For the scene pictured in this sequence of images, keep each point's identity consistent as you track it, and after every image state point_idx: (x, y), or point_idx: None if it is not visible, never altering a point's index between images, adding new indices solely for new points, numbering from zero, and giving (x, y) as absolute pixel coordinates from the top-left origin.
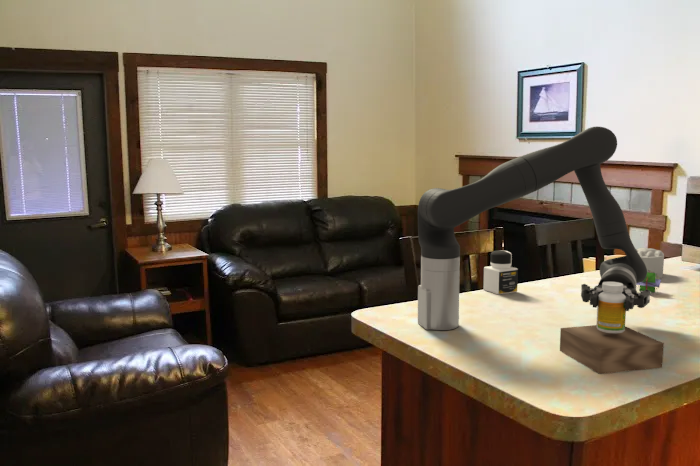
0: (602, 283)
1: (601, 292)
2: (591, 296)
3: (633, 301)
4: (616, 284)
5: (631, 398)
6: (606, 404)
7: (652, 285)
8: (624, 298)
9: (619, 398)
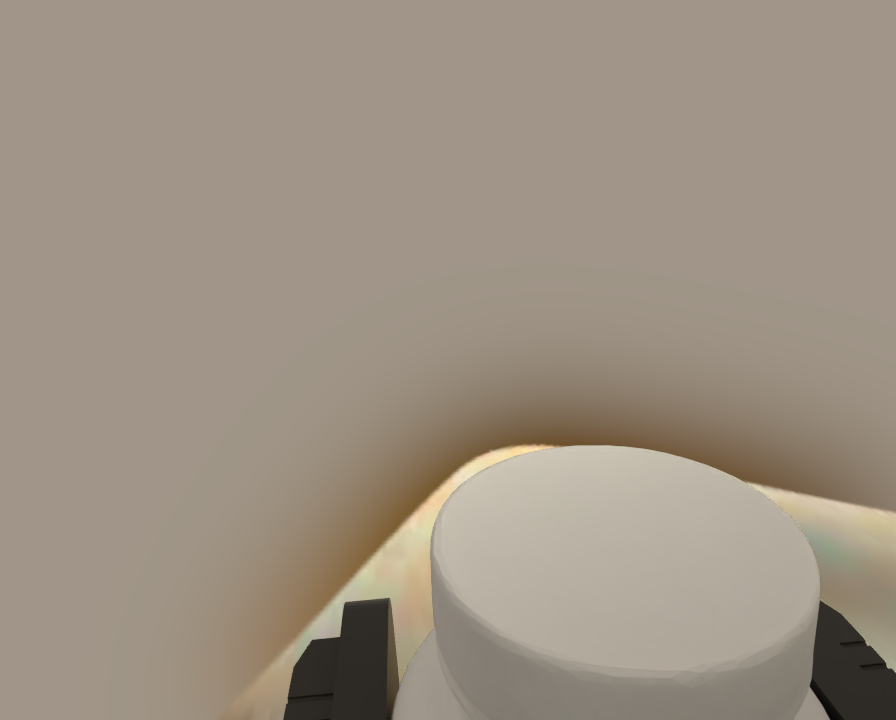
0: (762, 495)
1: (811, 715)
2: (880, 672)
3: (290, 684)
4: (537, 509)
5: (361, 582)
6: (433, 520)
7: None
8: (409, 665)
9: (400, 566)
